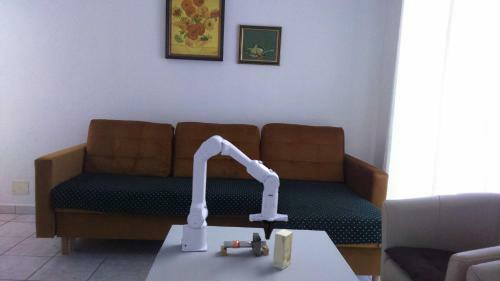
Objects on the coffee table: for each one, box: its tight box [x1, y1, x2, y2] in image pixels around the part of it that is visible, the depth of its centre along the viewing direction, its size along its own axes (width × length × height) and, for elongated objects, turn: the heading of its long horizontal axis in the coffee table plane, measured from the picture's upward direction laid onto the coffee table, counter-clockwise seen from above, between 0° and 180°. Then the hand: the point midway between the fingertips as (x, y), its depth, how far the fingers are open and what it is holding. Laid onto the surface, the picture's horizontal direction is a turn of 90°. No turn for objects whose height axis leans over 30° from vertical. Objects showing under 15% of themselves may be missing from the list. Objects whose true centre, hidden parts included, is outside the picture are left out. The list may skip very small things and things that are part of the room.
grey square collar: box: [251, 232, 262, 257], centre depth 133 cm, size 2×6×7 cm, turn 10°
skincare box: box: [272, 228, 294, 270], centre depth 125 cm, size 6×4×12 cm
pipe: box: [220, 240, 270, 257], centre depth 133 cm, size 18×4×5 cm, turn 100°
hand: (267, 238), depth 134 cm, fingers closed
